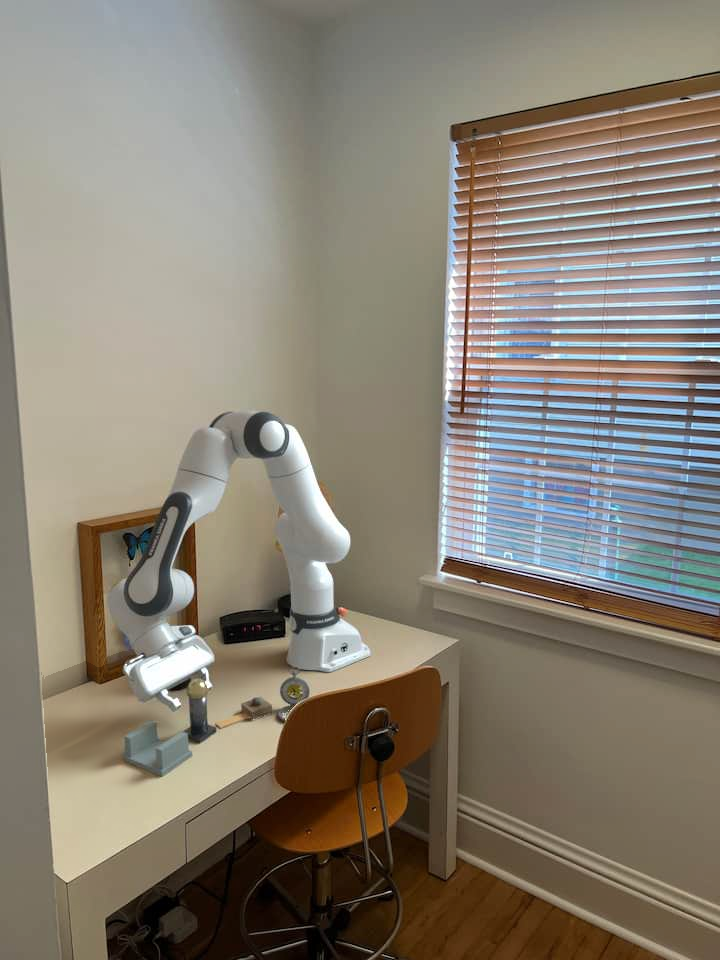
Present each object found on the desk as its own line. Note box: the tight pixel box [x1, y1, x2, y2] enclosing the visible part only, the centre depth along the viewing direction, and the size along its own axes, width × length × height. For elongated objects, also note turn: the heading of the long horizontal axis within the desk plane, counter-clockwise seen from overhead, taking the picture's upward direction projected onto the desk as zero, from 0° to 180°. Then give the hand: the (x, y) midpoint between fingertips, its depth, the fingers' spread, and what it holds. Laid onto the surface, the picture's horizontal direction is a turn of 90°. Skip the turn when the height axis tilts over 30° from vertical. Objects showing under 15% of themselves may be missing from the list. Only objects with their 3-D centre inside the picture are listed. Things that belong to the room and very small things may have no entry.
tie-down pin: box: [182, 678, 217, 744], centre depth 146 cm, size 5×5×12 cm
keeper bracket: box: [121, 720, 193, 777], centre depth 138 cm, size 11×8×5 cm
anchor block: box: [240, 696, 273, 721], centre depth 155 cm, size 5×5×3 cm
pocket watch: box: [278, 666, 311, 722], centre depth 154 cm, size 8×8×10 cm
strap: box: [215, 712, 250, 729], centre depth 153 cm, size 10×2×1 cm, turn 128°
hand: (193, 699), depth 146 cm, fingers open, 8 cm apart
